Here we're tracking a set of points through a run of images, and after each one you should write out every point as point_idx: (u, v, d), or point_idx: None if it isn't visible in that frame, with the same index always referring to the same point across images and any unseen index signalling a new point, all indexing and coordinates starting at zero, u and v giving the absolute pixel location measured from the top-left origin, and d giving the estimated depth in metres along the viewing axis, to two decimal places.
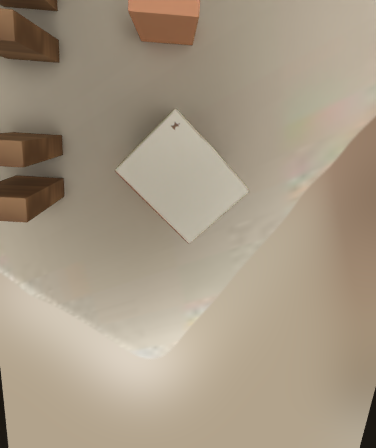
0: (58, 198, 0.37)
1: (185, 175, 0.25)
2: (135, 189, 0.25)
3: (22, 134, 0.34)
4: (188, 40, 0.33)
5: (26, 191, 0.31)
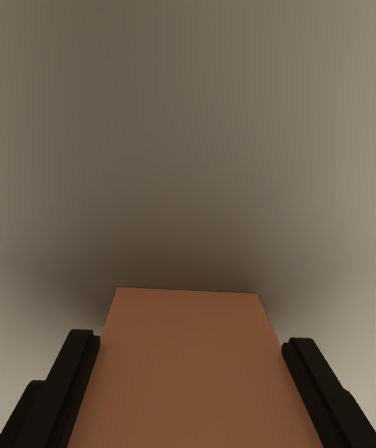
0: None
1: None
2: None
3: None
4: None
5: None
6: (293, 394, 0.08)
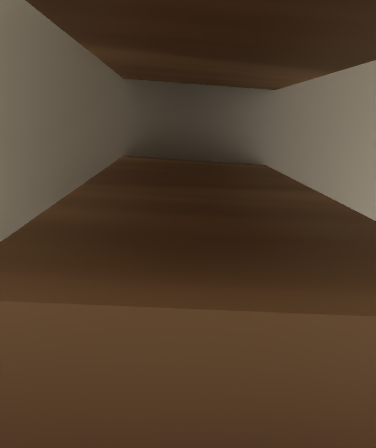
0: None
1: None
2: None
3: None
4: None
5: None
6: None
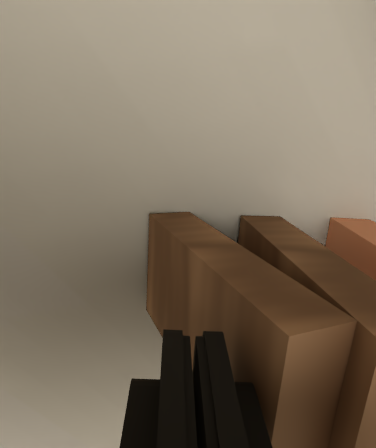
0: None
1: None
2: None
3: None
4: None
5: None
6: None
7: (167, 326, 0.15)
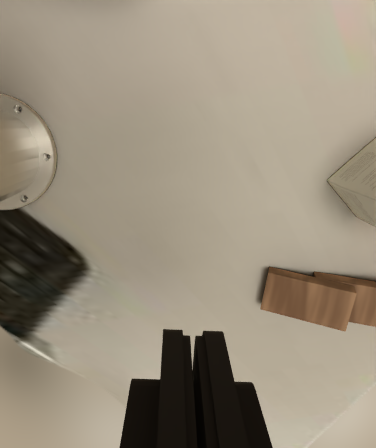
0: None
1: None
2: None
3: None
4: None
5: None
6: None
7: (286, 309, 0.43)
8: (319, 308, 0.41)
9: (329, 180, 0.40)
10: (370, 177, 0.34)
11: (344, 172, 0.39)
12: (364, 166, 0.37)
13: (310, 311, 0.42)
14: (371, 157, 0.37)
